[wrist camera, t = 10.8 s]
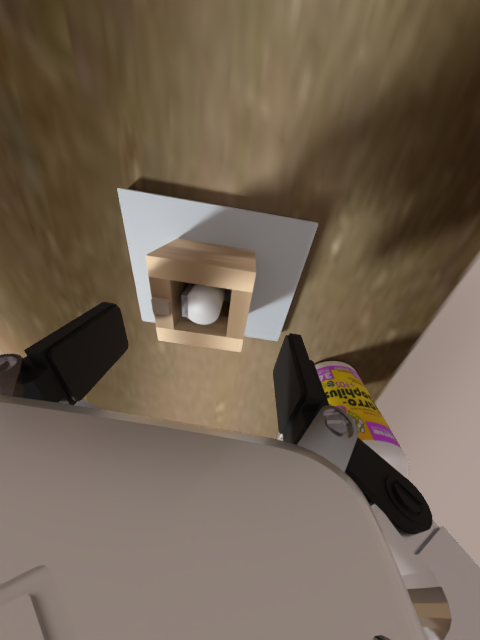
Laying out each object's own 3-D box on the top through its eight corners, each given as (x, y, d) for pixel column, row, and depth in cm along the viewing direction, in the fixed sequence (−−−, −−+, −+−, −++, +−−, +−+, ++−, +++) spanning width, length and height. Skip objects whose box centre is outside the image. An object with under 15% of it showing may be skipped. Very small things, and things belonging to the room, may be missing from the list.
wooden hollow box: (255, 250, 14) (256, 274, 10) (243, 315, 17) (240, 355, 13) (177, 238, 14) (142, 256, 9) (181, 306, 17) (156, 343, 13)
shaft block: (313, 221, 14) (348, 234, 9) (276, 334, 20) (284, 379, 15) (127, 188, 13) (51, 182, 8) (147, 314, 19) (111, 354, 14)
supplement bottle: (364, 360, 21) (475, 522, 11) (342, 394, 25) (409, 539, 14) (307, 355, 21) (361, 511, 11) (294, 390, 25) (325, 531, 14)
